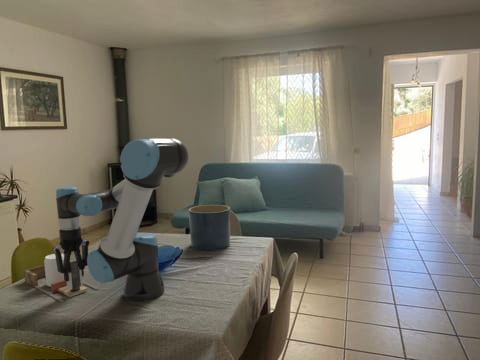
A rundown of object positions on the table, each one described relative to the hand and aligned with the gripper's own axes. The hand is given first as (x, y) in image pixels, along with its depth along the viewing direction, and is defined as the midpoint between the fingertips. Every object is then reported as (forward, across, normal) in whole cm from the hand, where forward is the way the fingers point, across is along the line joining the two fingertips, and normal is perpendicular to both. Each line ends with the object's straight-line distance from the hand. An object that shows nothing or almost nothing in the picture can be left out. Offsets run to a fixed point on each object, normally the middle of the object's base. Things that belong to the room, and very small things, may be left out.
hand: (75, 286), depth 142 cm
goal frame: (+3, 0, -24) cm, 24 cm away
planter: (+3, -76, 0) cm, 76 cm away
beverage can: (+3, 0, -15) cm, 15 cm away
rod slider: (+2, 0, -3) cm, 4 cm away
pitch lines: (+3, 0, -8) cm, 8 cm away
